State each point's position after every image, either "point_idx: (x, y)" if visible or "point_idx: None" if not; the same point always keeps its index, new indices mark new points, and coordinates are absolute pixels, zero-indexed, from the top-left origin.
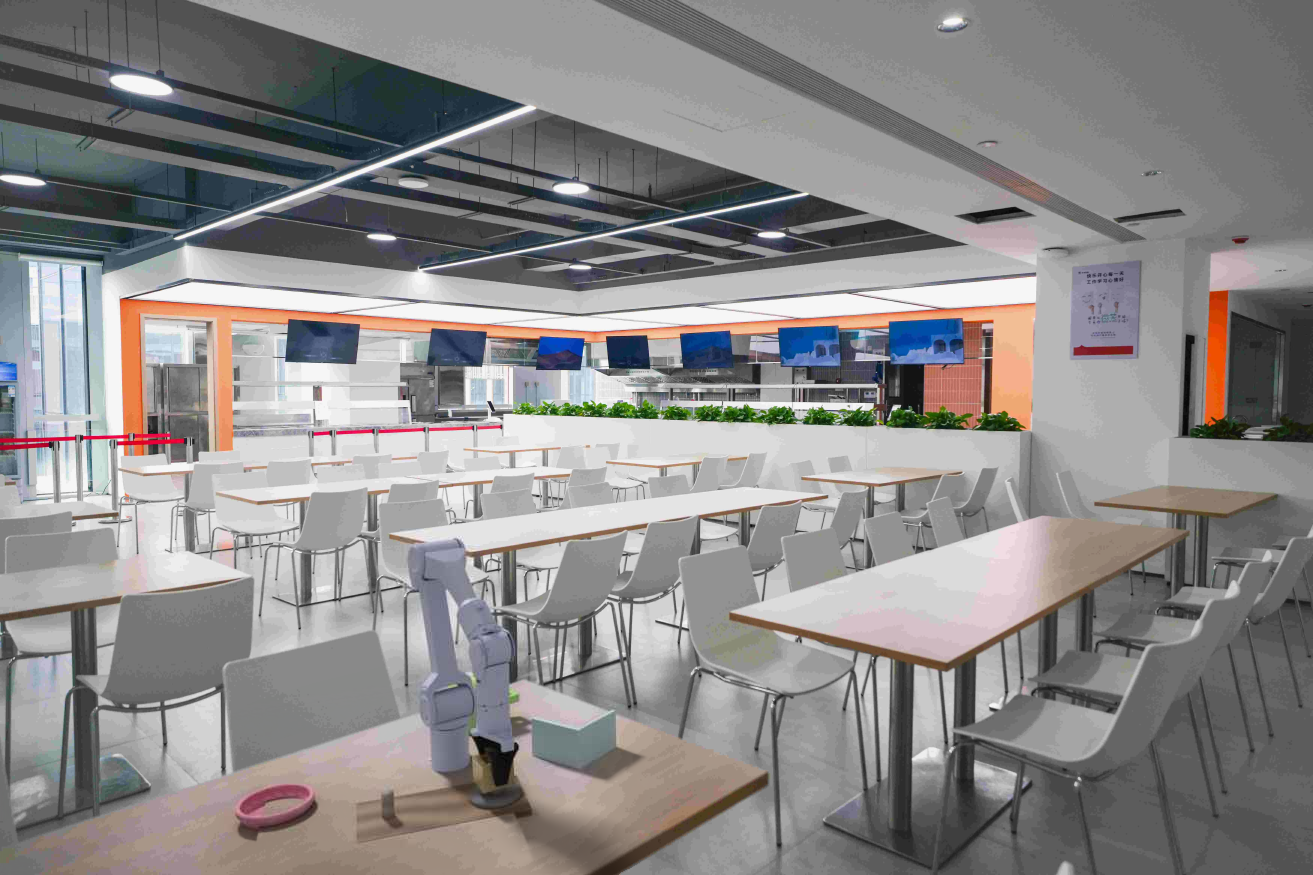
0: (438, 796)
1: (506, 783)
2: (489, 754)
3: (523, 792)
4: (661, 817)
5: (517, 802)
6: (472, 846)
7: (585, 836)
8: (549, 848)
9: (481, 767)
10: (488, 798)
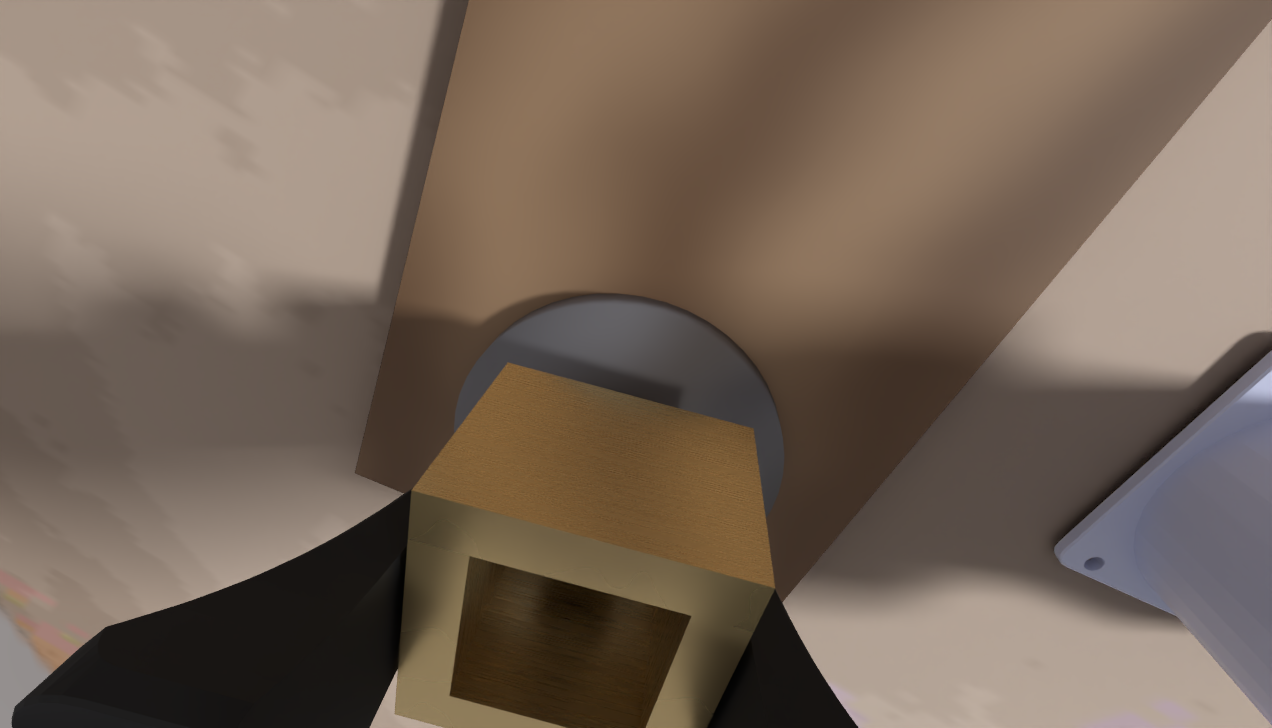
0: (956, 194)
1: None
2: (80, 649)
3: None
4: None
5: None
6: (205, 13)
7: (75, 472)
8: (25, 317)
9: (443, 489)
10: None
